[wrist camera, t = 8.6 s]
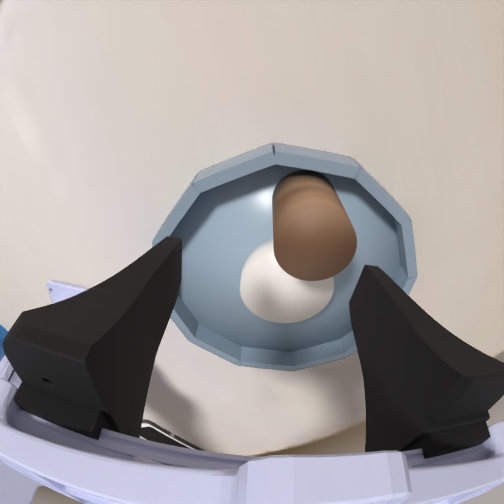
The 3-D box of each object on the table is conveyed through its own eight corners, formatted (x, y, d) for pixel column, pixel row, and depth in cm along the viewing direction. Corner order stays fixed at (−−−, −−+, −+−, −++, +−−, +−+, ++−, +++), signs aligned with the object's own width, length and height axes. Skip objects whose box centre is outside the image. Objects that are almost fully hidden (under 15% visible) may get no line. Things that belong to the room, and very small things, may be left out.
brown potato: (327, 232, 22) (344, 284, 17) (267, 224, 22) (267, 276, 17) (342, 175, 20) (367, 215, 15) (276, 165, 20) (280, 202, 15)
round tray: (358, 357, 31) (361, 374, 29) (167, 337, 30) (161, 353, 28) (439, 180, 20) (453, 192, 18) (162, 130, 19) (151, 138, 17)
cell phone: (178, 453, 51) (177, 457, 50) (120, 421, 45) (118, 425, 44) (207, 450, 48) (206, 454, 48) (147, 416, 42) (146, 422, 41)
